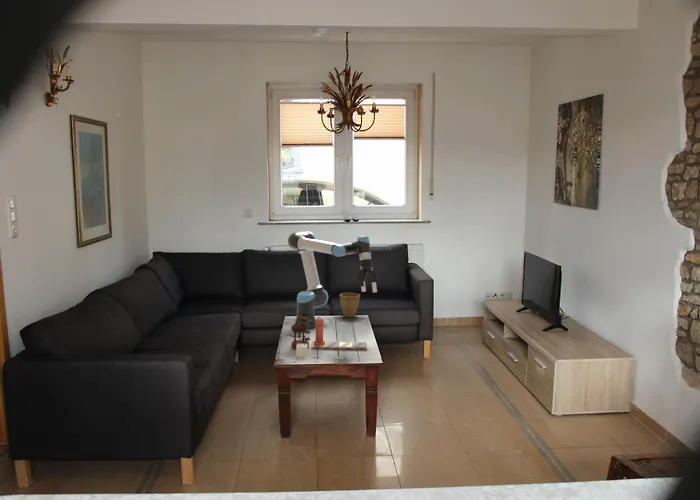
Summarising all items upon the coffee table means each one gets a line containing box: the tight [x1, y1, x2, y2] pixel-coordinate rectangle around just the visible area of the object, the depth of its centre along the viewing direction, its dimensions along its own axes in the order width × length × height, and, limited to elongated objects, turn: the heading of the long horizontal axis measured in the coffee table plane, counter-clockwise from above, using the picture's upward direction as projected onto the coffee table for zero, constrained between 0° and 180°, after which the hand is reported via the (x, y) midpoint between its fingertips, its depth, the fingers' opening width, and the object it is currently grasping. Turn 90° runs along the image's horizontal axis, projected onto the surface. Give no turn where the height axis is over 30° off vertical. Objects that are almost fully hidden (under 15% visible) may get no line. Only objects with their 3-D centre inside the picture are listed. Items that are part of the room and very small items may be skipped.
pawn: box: [313, 317, 326, 346], centre depth 357 cm, size 7×7×16 cm
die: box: [295, 344, 308, 358], centre depth 341 cm, size 6×6×6 cm
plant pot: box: [339, 292, 361, 318], centre depth 433 cm, size 15×15×16 cm
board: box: [310, 341, 368, 351], centre depth 358 cm, size 33×12×2 cm, turn 90°
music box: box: [286, 316, 312, 351], centre depth 353 cm, size 15×11×20 cm
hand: (369, 292), depth 384 cm, fingers open, 13 cm apart
